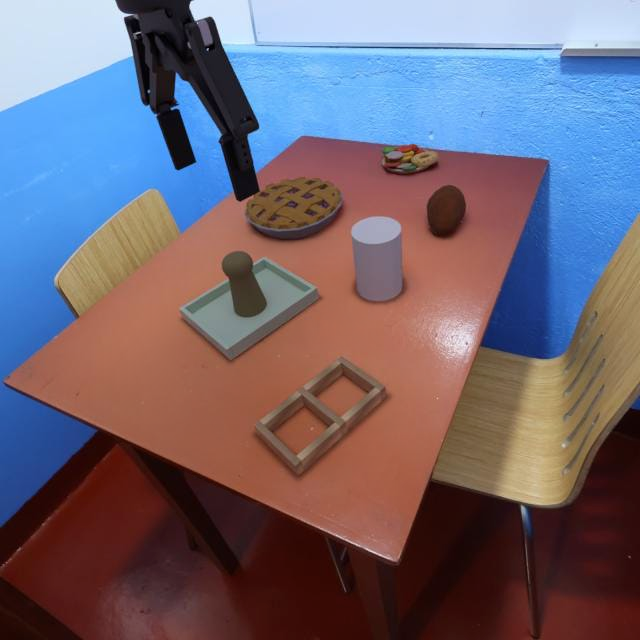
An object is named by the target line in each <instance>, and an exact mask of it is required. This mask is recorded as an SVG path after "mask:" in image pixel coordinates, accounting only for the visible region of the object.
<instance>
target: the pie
mask: <svg viewBox="0 0 640 640" xmlns="http://www.w3.org/2000/svg"><path fill="white" fill-rule="evenodd" d="M343 198H344V194H343V193H342V192H341V190H340V188H339V187H336V186H335V185H334V183H333V182H331V181H329V180H326V181H323V180H322V179H321V178H319V177H314V178H311V179H310V178H306V177H305V176H301V177H297V178H295V179H289V178H284V179H281V181H280V182H278V183H274V182H273V183H269V184H267V185H266V186H265V188H264V189H263V190H260V192H258V193H256V194H254V195H253V198H251V199H248V200H247V201H246V208H245V210H244V216H245V218H246V219H247V222H248V223H250V224H251V225H253V226H254V227H255V228H256V229H257V230H258V231H259V232H260V233H263V234H265V235H266V236H268V237H270V238H271V237H272V238H278V239H283V240H290V239H302V238H305V237H309V236H311V235H313V234H316V233H317V232H319V231H321V230H322V229H324V228H326V227H328V226H329V224H330V223H331V222H332V221H333V220H334V219H335V217H336V216H337V213H338V211H339V209H340V208H341V206H342V204H343Z"/></svg>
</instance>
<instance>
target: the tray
mask: <svg viewBox="0 0 640 640" xmlns="http://www.w3.org/2000/svg"><path fill="white" fill-rule="evenodd" d="M252 271H253V273H254V275H255V278H256V280H257V282H258V284H259V286H260V288H261V290H262V292H263V294H264V297H265V299H266V301H267V306H266V308H265V309H264V311H263V312H261V313H260V314H258V315H256V316H253V317H240V316H238V315H237V314H236V313H235V312H234V306H233V300H232V295H231V289H230V283H229V277H227V279H225V280H223V281H222V282H220V283H218V284H217V285H215V286H213V287H212V288H210V289H208V290H207V291H205V292H204V293H201V294H200V295H198V296H197V297H195V298H194V299H192V300H190V301H188V302H187V303H185V304H184V305H182V306H180V307H179V308H178V309H179V313H180V314H181V316H182V319H183V321H185V322H187V324H189V325H190V326H191V327H192V328H193V329H194V330H195V331H197V333H198V334H200V335H201V336H202V337H204V339H206V340H207V341H208V342H209V343H210V344H211V345H212V346H213V347H215V348H216V350H218V351H219V352H221V354H223V355H224V357H226V358H227V359H228V360H229V361H232V360H234V359H236V358H237V357H238V356H239V355H241V354H242V353H244V352H245V351H247V350H248V349H250V348H251V347H252V346H254V345H255V344H257V343H258V342H260V341H261V340H262V339H264V338H265V337H266V336H268V335H270V334H271V333H272V332H274V331H275V330H276V329H278V328H279V327H281V326H282V325H284V324H285V323H287V322H289V320H291V319H292V318H294V317H295V316H296V315H298V314H299V313H301V312H303V311H304V310H305V309H306V308H308V307H309V306H311V305H312V304H314V303H315V302H317V301H318V300H320V296H319V291H318V290H319V289H318V287H317V286H315V285H313V284H312V283H310V282H308V281H307V280H305V279H303V278H301V277H300V276H298V275H296V274H295V273H294V272H291V271H290V270H288V269H286V268H285V267H283V266H282V265H280V264H279V263H277V262H275V261H273V260H271V259H269V258H268V257H267V256H263V257H261V258H260V259H258V260H256V261H254V262H253V269H252Z"/></svg>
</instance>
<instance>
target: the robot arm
mask: <svg viewBox="0 0 640 640" xmlns="http://www.w3.org/2000/svg"><path fill="white" fill-rule="evenodd" d="M114 1H115V4H116V7H117V8H118V10H119V11H120V12H121V13H123V14H125V15H127V16H124V17H123V22H124V25H125V29H126V32H127V35H128V38H129V41H130V46H131V51H132V57H133V63H134V68H135V74H136V75H135V76H136V79H137V86H138V90H139V96H140V100H141V101H140V102H141V103H142V105H144V107H148V106H149V108H150V111H151V112H152V114H153V115H156V116H155V118H156V121H157V123H158V126H159V129H160V132H161V134H162V137H163V139H164V142H165V145H166V148H167V151H168V153H169V156H170V158H171V162H172V164H173V167H174V170H176V171H178V172H179V171H181V170H184V169H185V168H187V167H190V166H192V165H194V164H196V163H197V160H196V157H195V153H194V150H193V148H192V144H191V141H190V138H189V135H188V132H187V129H186V125H185V123H184V120H183V116H182V114H181V110H180V109H179V108H176V107H178V106H180V103H179V102H178V100H177V99H176V97H175V94H176V93H175V92H176V79H177V75H178V77H179V79H180V80H181V81H183V82H187V83H188V84H189V85H190V87H191V88H192V90H193V91H194V93H195V95H196V96H197V98H198V99H199V101H200V103H201V104H202V106H203V107H204V109H205V111H206V112H207V113H208V115H209V117H210V118H211V121H212V122H213V123H214V124H215V126H216V128H217V130H218V131H219V132H220V134H221V135H220V137H219V139H218V141H217V142H218V144H219V145H220V149H221V151H222V156H223V159H224V162H225V166H226V170H227V172H228V176H229V180H230V184H231V186H232V190H233V193H234V197H235V200H236V201H237V202H240V203H241V202H243V201H245V200H247V199H248V198H250V197H253V196H254V194H256V193H258V192H260V191H261V189H260V186H259V182H258V177H257V173H256V169H255V165H254V159H253V154H252V150H251V146H250V141H249V135H250V134H252V133H254V132H256V131H258V130H260V123H259V121H258V119H257V116H256V114H255V112H254V109H253V108H252V106H251V104H250V101H249V99H248V97H247V96H246V93H245V91H244V89H243V87H242V84H241V82H240V80H239V78H238V76H237V73H236V72H235V70H234V68H233V66H232V65H233V64H232V63H231V61H230V59H229V57H228V55H227V53H226V50H225V48H224V46H223V43H222V40H221V36H220V34H219V29H218V27H217V23H216V21H215V19H214V18H213V16H206V17H203V18H200V19H197V20H196V19H195V18H194V15H193V12H192V10H191V7H190V5H191V3H192V2H193V1H194V0H114Z"/></svg>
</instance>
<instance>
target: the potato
mask: <svg viewBox="0 0 640 640" xmlns="http://www.w3.org/2000/svg"><path fill="white" fill-rule="evenodd" d="M466 210H467V203H466V197H465V195H464V194H463V192H462V191H461V189H460V188H458V187H457V186H455V185H452V184H447V185H443V186H440V187H439V188H438V189H437V190H435V191H434V192H433V194H432V195H431V196H430V197H429V198H428V201H427V203H426V218H427V223H428V225H429V227H430V229H431V230H432V231H433V233H434V234H435V235H438V236H446V235H448V234H450V233H451V232H453V231H454V230H455V229H456V228H457V227H458V225H459V224H460V223H461V221H463V217H464V216H465V214H466Z"/></svg>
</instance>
